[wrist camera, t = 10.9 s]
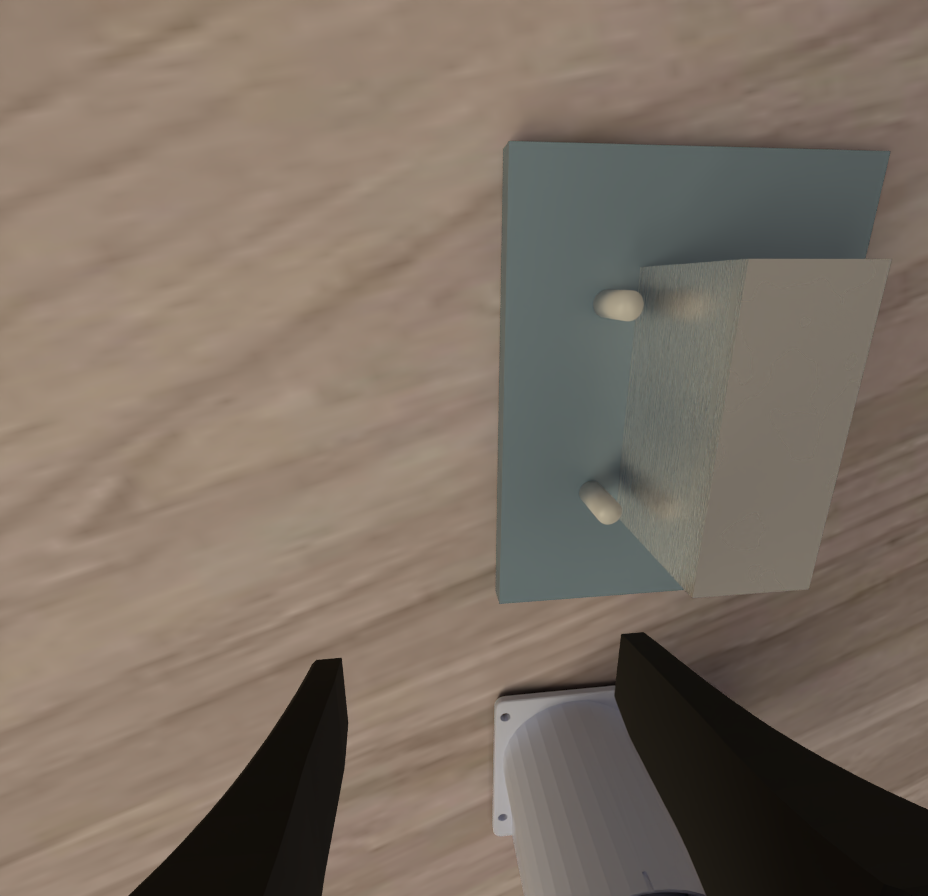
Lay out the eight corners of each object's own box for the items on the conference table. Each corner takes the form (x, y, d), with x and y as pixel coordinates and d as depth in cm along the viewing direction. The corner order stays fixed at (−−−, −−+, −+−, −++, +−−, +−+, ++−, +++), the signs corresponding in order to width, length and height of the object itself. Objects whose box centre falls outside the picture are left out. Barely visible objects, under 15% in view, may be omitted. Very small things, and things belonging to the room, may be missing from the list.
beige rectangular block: (704, 509, 22) (811, 589, 16) (615, 514, 21) (692, 598, 16) (744, 267, 18) (895, 259, 13) (640, 267, 18) (748, 258, 12)
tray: (774, 570, 24) (823, 607, 22) (495, 590, 23) (508, 633, 20) (866, 158, 19) (948, 135, 16) (503, 148, 17) (522, 122, 14)
